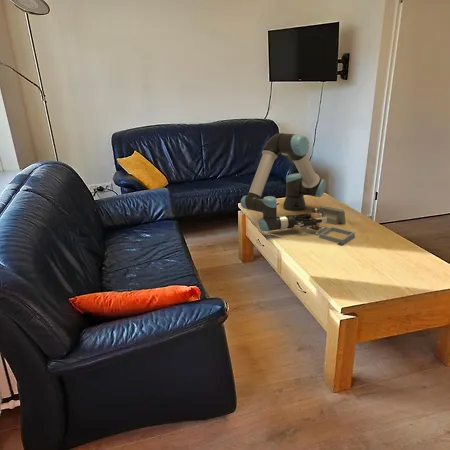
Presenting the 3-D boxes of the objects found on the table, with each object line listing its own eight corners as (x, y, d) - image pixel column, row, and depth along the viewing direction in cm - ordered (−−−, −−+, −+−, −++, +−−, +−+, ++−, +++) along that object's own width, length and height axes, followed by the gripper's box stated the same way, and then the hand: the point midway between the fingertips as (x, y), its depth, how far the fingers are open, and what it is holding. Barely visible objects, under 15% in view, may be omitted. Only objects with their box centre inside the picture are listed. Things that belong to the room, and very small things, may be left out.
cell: (313, 227, 234) (314, 206, 229) (320, 229, 231) (321, 208, 226) (309, 229, 231) (310, 208, 226) (316, 231, 228) (317, 210, 223)
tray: (331, 231, 230) (332, 226, 229) (354, 237, 221) (354, 232, 220) (319, 239, 220) (319, 234, 219) (342, 245, 211) (342, 240, 210)
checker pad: (312, 225, 240) (312, 222, 239) (330, 229, 232) (330, 226, 232) (299, 232, 231) (299, 228, 230) (317, 237, 223) (318, 233, 222)
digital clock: (347, 224, 239) (348, 208, 235) (337, 228, 234) (338, 211, 230) (325, 218, 251) (326, 202, 247) (316, 221, 246) (316, 205, 242)
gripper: (280, 222, 235) (317, 218, 240) (291, 234, 218) (330, 229, 223) (280, 210, 233) (317, 206, 237) (292, 221, 216) (331, 217, 220)
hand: (323, 217), depth 230 cm, fingers open, 6 cm apart
